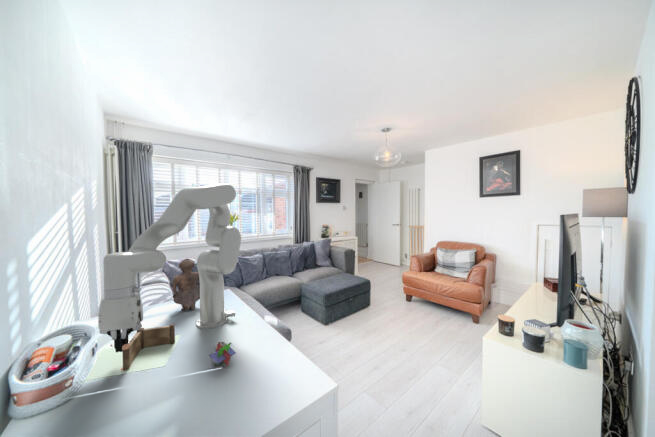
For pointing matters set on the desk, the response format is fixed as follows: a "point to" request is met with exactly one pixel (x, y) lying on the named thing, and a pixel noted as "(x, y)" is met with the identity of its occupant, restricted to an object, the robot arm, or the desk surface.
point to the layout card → (145, 359)
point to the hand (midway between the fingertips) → (121, 349)
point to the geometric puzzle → (222, 353)
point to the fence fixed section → (157, 336)
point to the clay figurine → (186, 286)
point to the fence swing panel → (131, 350)
